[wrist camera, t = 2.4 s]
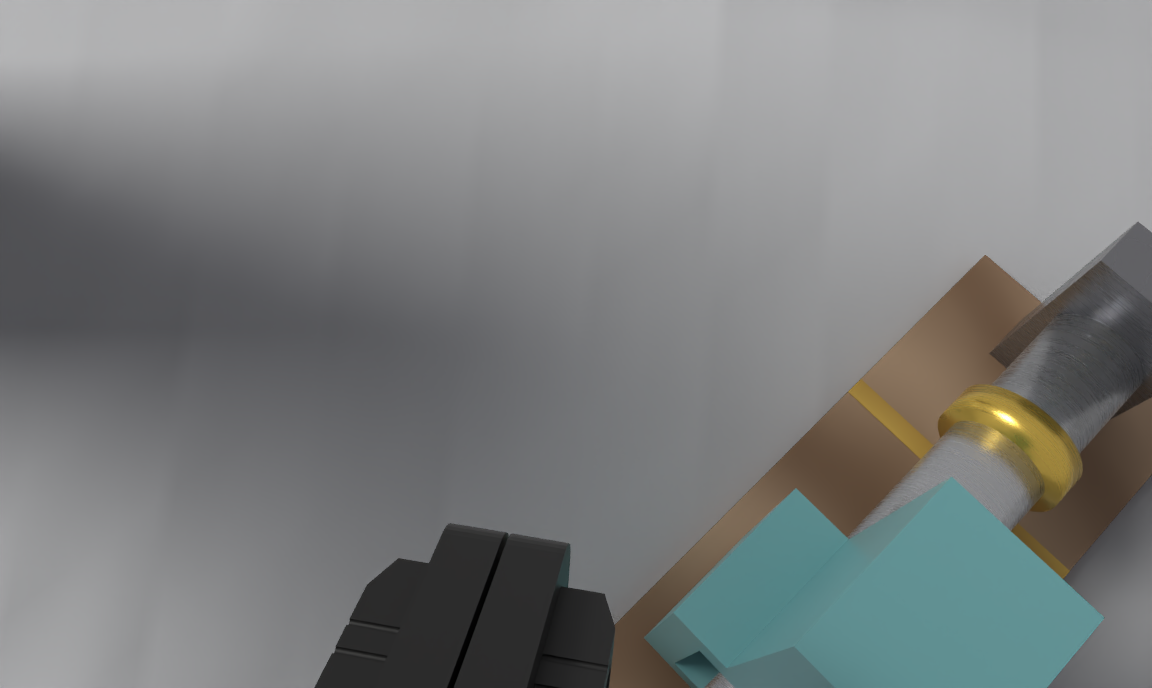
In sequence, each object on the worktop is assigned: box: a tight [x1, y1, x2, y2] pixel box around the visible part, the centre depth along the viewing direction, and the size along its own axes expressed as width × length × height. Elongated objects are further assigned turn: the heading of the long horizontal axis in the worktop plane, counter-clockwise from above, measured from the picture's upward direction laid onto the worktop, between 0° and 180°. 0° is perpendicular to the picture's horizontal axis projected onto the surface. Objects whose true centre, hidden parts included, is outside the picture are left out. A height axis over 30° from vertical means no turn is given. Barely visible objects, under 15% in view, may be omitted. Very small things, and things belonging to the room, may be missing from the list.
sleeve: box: [644, 477, 1104, 688], centre depth 23 cm, size 4×6×12 cm, turn 44°
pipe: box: [705, 222, 1152, 688], centre depth 27 cm, size 18×4×7 cm, turn 134°
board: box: [609, 255, 1152, 688], centre depth 30 cm, size 20×8×1 cm, turn 134°
